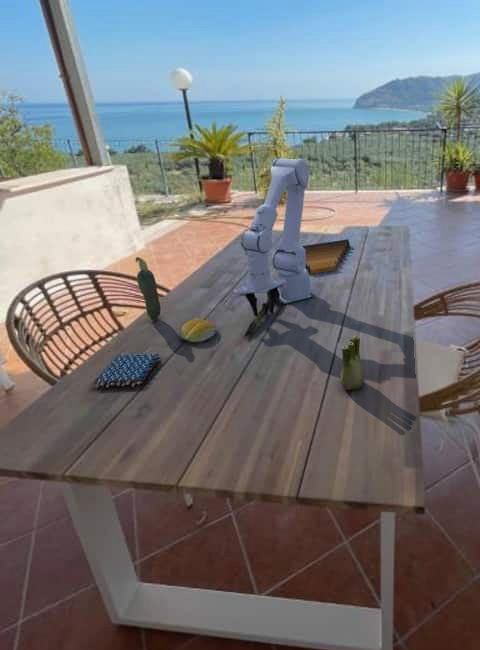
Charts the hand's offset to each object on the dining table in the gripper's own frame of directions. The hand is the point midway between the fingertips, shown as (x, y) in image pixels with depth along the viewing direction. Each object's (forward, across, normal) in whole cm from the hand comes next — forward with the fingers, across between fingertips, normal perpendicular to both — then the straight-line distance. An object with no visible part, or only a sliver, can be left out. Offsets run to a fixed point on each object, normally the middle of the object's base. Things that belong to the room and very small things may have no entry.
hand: (263, 313), depth 114 cm
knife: (+2, 0, 0) cm, 2 cm away
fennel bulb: (+2, +8, -39) cm, 40 cm away
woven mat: (+2, -35, -9) cm, 36 cm away
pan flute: (+2, +38, +33) cm, 50 cm away
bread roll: (+2, -18, 0) cm, 18 cm away
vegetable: (+2, -28, +14) cm, 31 cm away
